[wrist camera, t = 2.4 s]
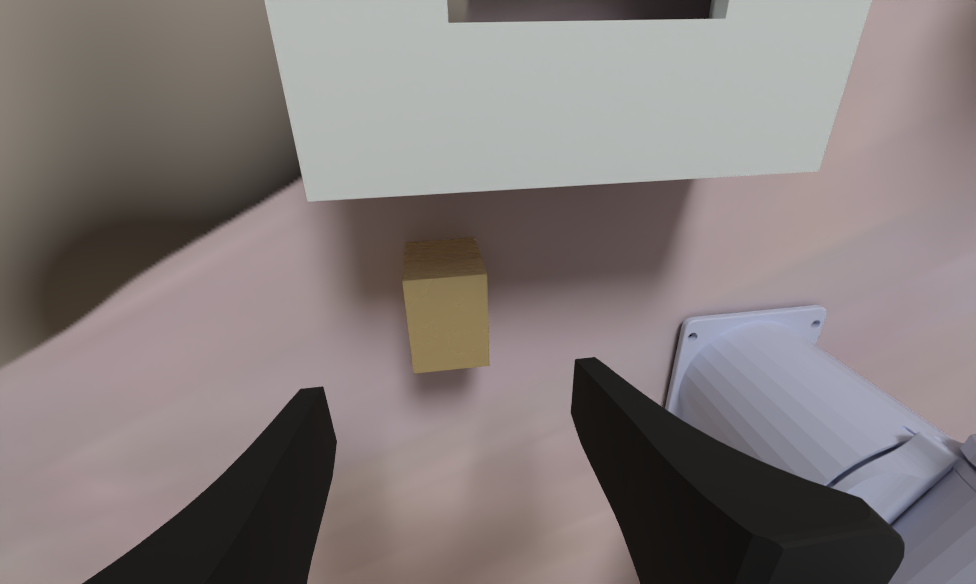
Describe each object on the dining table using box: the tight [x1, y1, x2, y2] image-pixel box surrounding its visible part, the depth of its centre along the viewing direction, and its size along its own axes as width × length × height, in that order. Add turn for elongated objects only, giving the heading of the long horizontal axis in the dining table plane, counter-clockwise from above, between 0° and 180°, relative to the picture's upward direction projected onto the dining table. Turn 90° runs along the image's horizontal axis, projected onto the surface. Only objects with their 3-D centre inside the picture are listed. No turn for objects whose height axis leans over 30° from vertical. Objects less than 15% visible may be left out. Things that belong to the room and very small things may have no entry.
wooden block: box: [402, 238, 490, 374], centre depth 18 cm, size 4×3×4 cm
